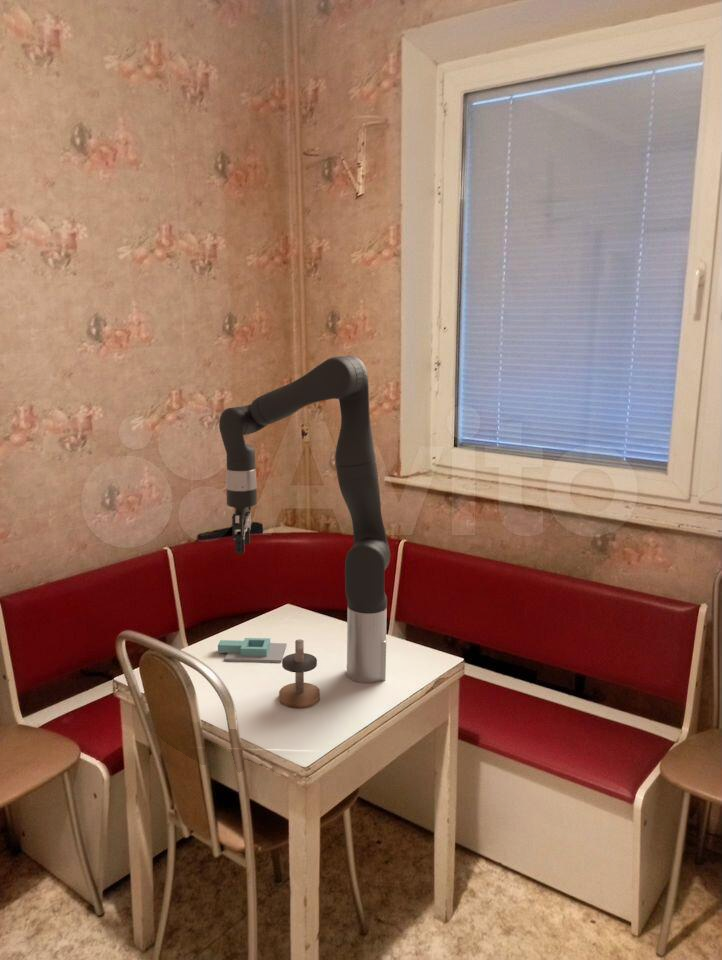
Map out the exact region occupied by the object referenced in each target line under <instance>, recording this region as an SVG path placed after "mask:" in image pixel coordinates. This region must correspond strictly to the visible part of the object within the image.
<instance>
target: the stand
mask: <svg viewBox="0 0 722 960" xmlns="http://www.w3.org/2000/svg"><path fill="white" fill-rule="evenodd" d="M294 644H295V645H294V646H295V647H294V650H295V651H294V653H290V654H288V655H284V656H283V659H282V662H281V665H282V666H281V667H282V668H283V670H285V671H288V672H290V673H295V674H294V675H295V676H294V677H295V678H294V679H295V680H294V681H295V682H293V683H292V682H291V683H288V684H286V685H284V686H282V687H281V688H280V690H279V692H278V701H279V703H280V704H281V705H283V706H285V707H287V708H290V709H297V710H298V709H306V708H311V707H313V706H315V705H317V704H319V702H320V699H321V691H320V689H319V687H318V686H316V685H315V684H314V683H313V684H312V683H309V682H304V679H305V678H304V676H305V675H304V674H305V673H306V672H309V671H313V670H314V669H315V668H317V666H318V662H317V661H318V659H317V657H316V656H314V655H313V654H310V653H306V652H305V651H304V649H305V647H304V645H305V642H304V640H303V639H296V640H295V643H294Z"/></svg>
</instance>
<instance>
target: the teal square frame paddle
mask: <svg viewBox="0 0 722 960" xmlns="http://www.w3.org/2000/svg"><path fill="white" fill-rule="evenodd" d="M270 643H271V638H269V637H268V638H266V637H263V638H261V637H245V638H244V639H243V640H232V639H231V640H229V639H227V640H226V639H224V640H223V639H221V640H219V642H218V645H217V654H218V653H219V654H220V653H225V654H227V653H241V656H260V657H267V654H268V651H269V648H270Z"/></svg>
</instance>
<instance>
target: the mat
mask: <svg viewBox="0 0 722 960" xmlns="http://www.w3.org/2000/svg"><path fill="white" fill-rule="evenodd" d="M286 649H287V643H286V642H270V648H269V651H268V654H267V657H260V656H241V653H226V655H225V658H224V662H246V663H247V662H248V663H280V664H282V659H283V658H284V656H285V652H286Z"/></svg>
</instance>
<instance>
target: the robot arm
mask: <svg viewBox="0 0 722 960" xmlns="http://www.w3.org/2000/svg"><path fill="white" fill-rule="evenodd" d="M369 387H370V386H369V375H368V371H367V368H366V365H365V364H364V363H363V361H362V360H361V359H360V358H358V357H357V356H354V355H341V356H335V357H329V358H328V359H326V360H324V361H322V362H321V363H319V365H317V366H316V367H314V368H313V369H311V370H310V371H309V372H307V373H306V374H304V375H302V376H301V377H300V378H298V379H296V380H294V381H293V382H290V383H288V384H285V385H283V386H280V387H279V388H276V389H273V390H271V391H269V392H267V393H264V394H263V395H260V396H258V397H257V398H255V399H253V400H252V402H251V403H250V404H247V405H243V406H235V407H234V406H233V407H228V408H226V409H224V410H223V411H222V412H221V414H220V416H219V421H218V427H219V432H220V436H221V439H222V443H223V446H224V449H225V452H226V476H225V485H226V486H225V490H226V495H225V496H226V505H227V506H228V507H230V508H234V510H235V511H234V513H233V514H232V515H231V519H232V520H231V521H232V522H231V523H232V526H231V527H232V528H231V529H232V539H233V540H234V550H235V551H234V552H235V553H234V554H236V555H244V554H245V550H246V549H245V546H247V545H248V546H249V545H250V543H251V529H252V527H251V526H252V524H253V522H252V507H255V506H257V504H258V494H257V493H258V491H257V490H258V489H257V487H258V486H257V472H256V451H255V448H254V447H253V446H252V445H249V444H247V443H246V442H245V437H244V436H246V435H251V434H254V433H257V432H259V431H261V430H263V429H264V428H266V427H267V426H268V425H271V424H273V423H277V422H279V421H281V420H283V419H286V418H288V417H290V416H292V415H293V414H296V413H297V412H298V411H299V410H301V409H302V408H304V407H307V406H310V405H312V404H314V403H318V402H323V401H329V400H334V399H336V400H338V403H339V408H340V416H341V417H340V418H341V420H340V421H341V423H340V429H339V435H338V439H337V444H336V447H335V456H334V457H335V468H336V469H335V470H336V476H337V481H338V486H339V490H340V494H341V495H342V498H343V500H344V502H345V504H346V507H347V509H348V513H349V514H350V518H351V522H352V533H353V546H352V547H350V549H349V550H348V552H347V554H346V556H345V560H344V561H345V563H344V577H345V578H344V584H345V585H344V586H345V587H344V589H345V597H346V601H347V614H346V615H347V616H346V617H347V618H346V619H347V622H346V623H347V626H346V627H347V630H346V636H347V637H346V676H347V678H348V679H349V680H350V681H353V682H355V683H359V684H360V683H361V684H373V683H377V682H383V681H386V674H387V673H386V671H387V670H386V669H387V668H386V667H387V620H388V619H387V615H388V614H387V613H388V611H387V610H388V597H387V596H388V595H387V594H386V592H385V579H386V577H385V571H386V569H387V568H388V566H389V565H390V561H391V550H390V545H389V542H388V538H387V533H386V530H385V525H384V521H383V516H382V505H381V504H382V503H381V492H380V484H379V483H380V482H379V473H378V466H377V458H376V452H375V447H374V440H373V431H372V425H371V415H370V393H369V392H370V390H369V389H370V388H369ZM238 532H240V533H238Z"/></svg>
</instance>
